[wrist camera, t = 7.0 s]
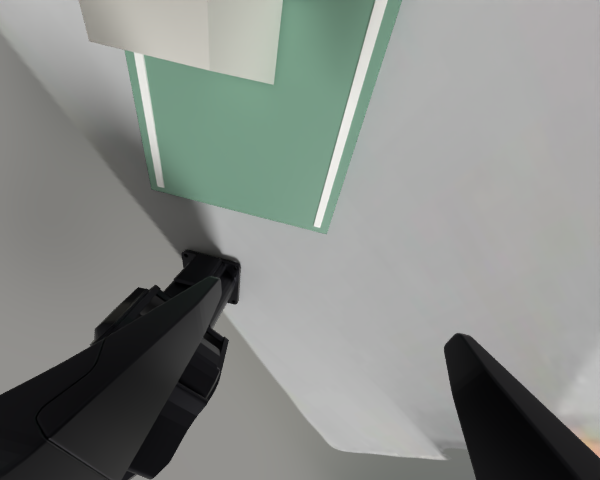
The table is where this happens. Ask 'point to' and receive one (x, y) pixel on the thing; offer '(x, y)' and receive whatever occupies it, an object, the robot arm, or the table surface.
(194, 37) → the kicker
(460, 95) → the table surface
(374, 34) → the board
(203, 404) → the robot arm
